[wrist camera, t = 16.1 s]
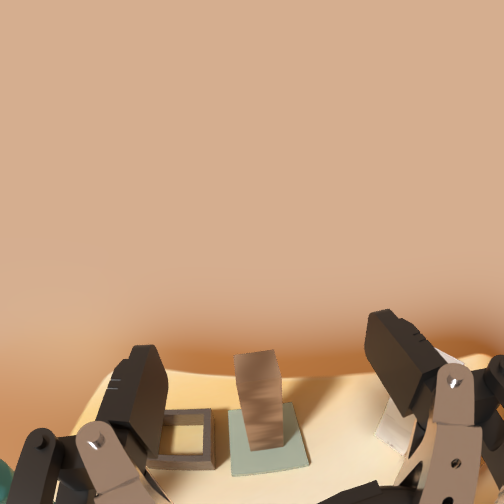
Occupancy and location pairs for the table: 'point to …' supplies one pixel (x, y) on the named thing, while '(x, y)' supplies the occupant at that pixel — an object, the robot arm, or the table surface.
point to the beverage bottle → (5, 481)
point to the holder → (208, 455)
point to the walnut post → (260, 398)
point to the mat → (268, 459)
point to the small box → (400, 421)
